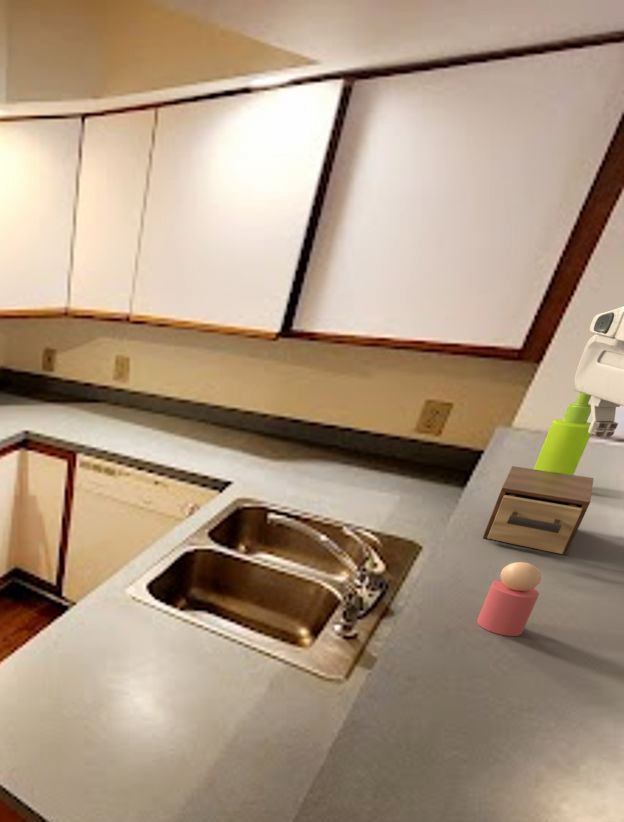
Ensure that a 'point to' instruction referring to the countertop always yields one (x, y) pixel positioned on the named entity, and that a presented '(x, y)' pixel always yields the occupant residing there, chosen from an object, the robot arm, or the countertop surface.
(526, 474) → the cabinet
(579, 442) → the soap dispenser
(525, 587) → the doll
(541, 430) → the countertop surface
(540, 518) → the drawer
